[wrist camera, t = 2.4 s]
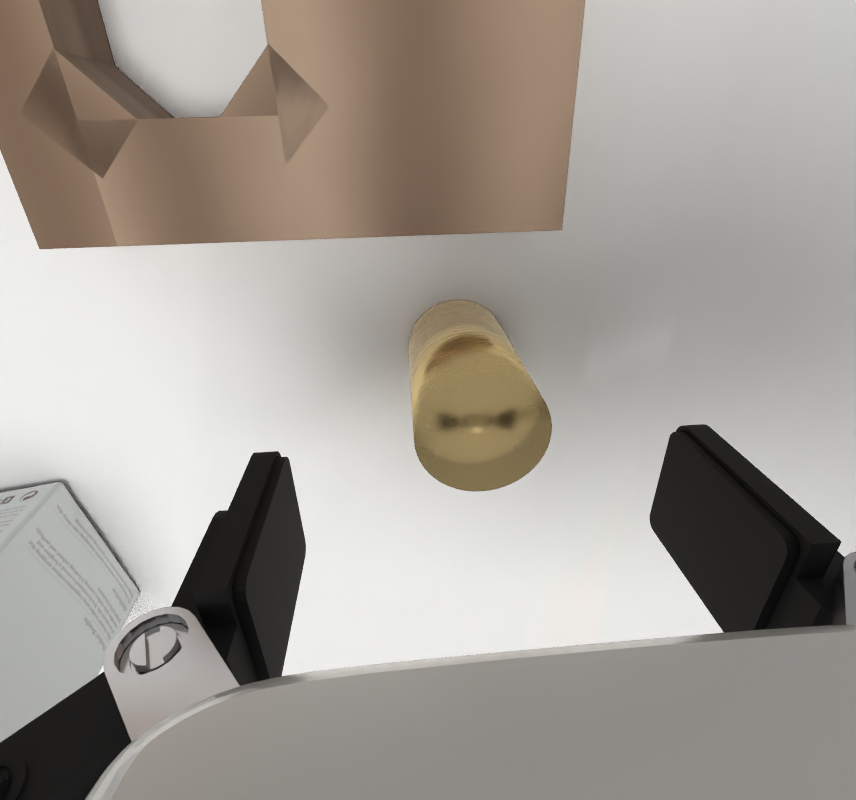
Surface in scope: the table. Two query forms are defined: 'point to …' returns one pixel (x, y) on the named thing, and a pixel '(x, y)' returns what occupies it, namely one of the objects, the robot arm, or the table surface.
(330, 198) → the jig
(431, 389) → the brass cylinder
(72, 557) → the skincare box
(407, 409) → the table surface
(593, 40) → the table surface
